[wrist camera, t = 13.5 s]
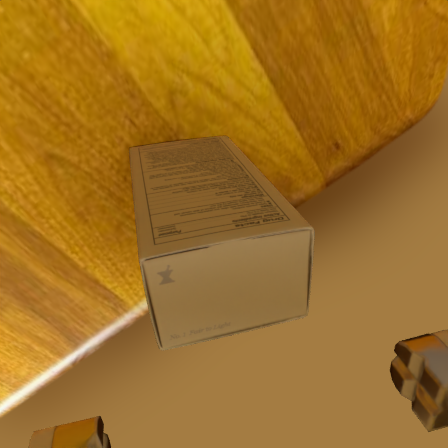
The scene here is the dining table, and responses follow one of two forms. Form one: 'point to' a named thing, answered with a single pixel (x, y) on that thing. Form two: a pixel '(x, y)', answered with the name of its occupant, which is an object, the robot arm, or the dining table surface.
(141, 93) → the dining table surface
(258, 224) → the cosmetic box
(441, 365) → the robot arm
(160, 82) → the dining table surface
